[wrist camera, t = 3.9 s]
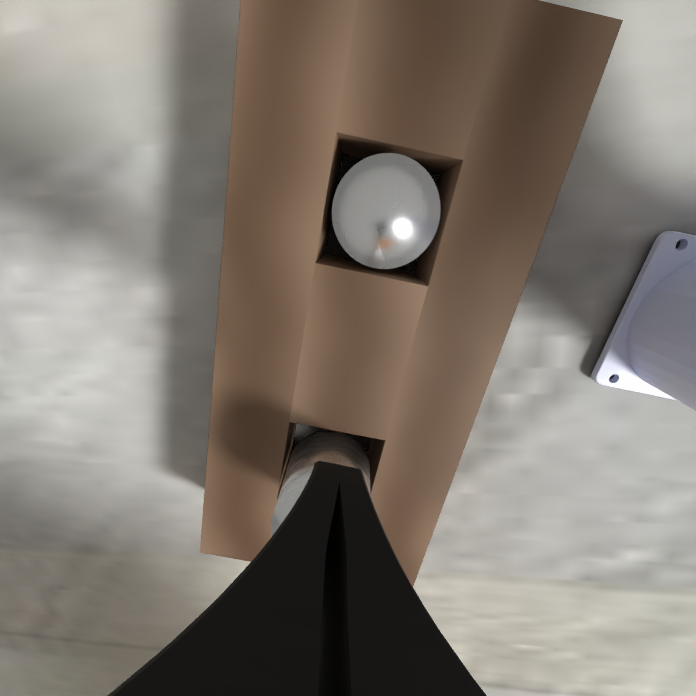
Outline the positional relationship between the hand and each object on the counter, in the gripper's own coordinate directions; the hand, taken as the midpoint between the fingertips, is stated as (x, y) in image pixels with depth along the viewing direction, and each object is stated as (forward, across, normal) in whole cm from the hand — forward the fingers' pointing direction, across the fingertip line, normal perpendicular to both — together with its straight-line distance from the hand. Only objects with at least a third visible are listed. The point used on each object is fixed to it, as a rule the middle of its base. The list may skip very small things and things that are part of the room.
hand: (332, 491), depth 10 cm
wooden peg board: (+10, 0, -2) cm, 10 cm away
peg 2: (+10, 0, -8) cm, 13 cm away
